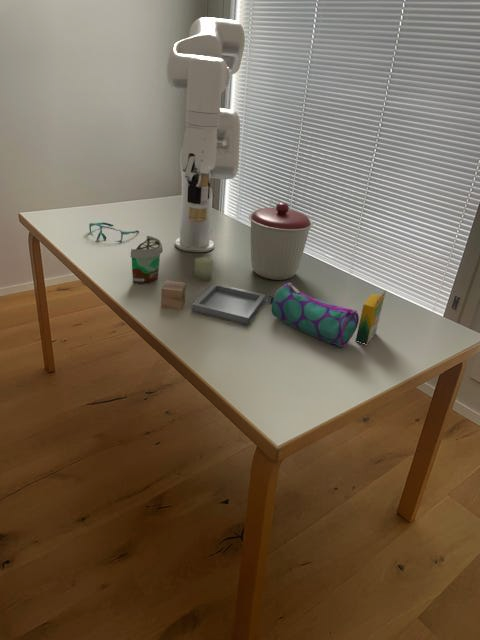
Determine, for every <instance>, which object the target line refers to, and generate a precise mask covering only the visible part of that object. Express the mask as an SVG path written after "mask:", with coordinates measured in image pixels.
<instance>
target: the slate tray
mask: <svg viewBox="0 0 480 640" xmlns="http://www.w3.org/2000/svg"><path fill="white" fill-rule="evenodd" d="M266 297H267V294H264V293H259V292H257V291H256V292H255V291H251V290H247V289H242V288H238V287H233V286H229V285H225V284H222V283H221V284H220V283H216V282H214V283H212V285H210V286H209V287H208V288H207V289H206V291H204V292H203V293H202V294H201V295H200V296H199V297H198V298H197V299H196V300H195V301H194V302H193V303H192V304H191V312H192V313H196V314H201V315H205V316H207V317H211V318H217V319H221V320H224V321H228V322H231V323H232V322H233V323H235V324H236V323H237V324H241V325H244V326H249V325H250V323H251V322H252V320H253V319H254V318H255V317H256V315H257V314H258V312H259V311H260V309H261V308H262V307H263V305H264V304H265V302H266Z"/></svg>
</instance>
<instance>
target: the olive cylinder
mask: <svg viewBox="0 0 480 640" xmlns="http://www.w3.org/2000/svg"><path fill="white" fill-rule="evenodd" d="M213 263H214V260H213V259H212V258H209V257H203V256H200V257H196V258H194V268H193V269H194V270H193V278H194V279H195V280H198V281H202V282H205V281H206V282H207V281H210V280H212V279H213V269H214V268H213V267H214V265H213Z"/></svg>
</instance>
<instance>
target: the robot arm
mask: <svg viewBox="0 0 480 640" xmlns="http://www.w3.org/2000/svg"><path fill="white" fill-rule="evenodd" d="M245 34H246V33H245V30H244V27H243V25H242V23H240V22H239V21H237V20H235V19H234V20H233V19H227V18H217V17H207V16H205V17H199V18H197V19H196V20H195V21H194V22H193V23H192V24H191V26H190V28H189V35H188V36H189V37H187V38H183V39H181V40H179V41H177V42H175V43H174V44H173V45H172V46H171V48H170V50H169V52H168V57H167V58H168V59H167V63H166V78H167V82H168V84H169V86H170V87H171V88H172V89H174V90H177V91H185V92H186V107H185V108H186V109H185V129H184V135H183V142H182V148H181V150H180V154H179V164H180V172H181V197H180V198H181V202H180V229H179V237H177V239H175V241H174V246H175V247H176V248H177V249H178V250H181V251H184V252H187V253H188V252H189V253H206V252H210V251H211V250H213V249H214V248H215V243H214V241H213V240H211V234H212V232H213V230H212V228H211V223H212V209H213V207H212V206H213V189H212V188H211V181H212V180H211V179H217V180H232V179H234V178H235V177H236V176H237V175H238V171H239V163H240V141H241V140H240V139H241V138H240V137H241V121H240V117H239V114H238V112H237V111H235V110H233V109H228V108H222V107H221V104H222V102H221V101H222V93H223V92H225V90H226V88H227V87H228V86H229V84H230V78H231V77H230V76H231V75H235V74H236V73H238V71H239V70H240V67H241V64H242V58H243V55H244V50H245V42H246V36H245ZM218 143H220V144H222V145H220V144H219V145H218ZM208 166H210V172H209V178H208V201H207V212H206V218H207V219H206V220H205V221H203V222H195V221H191V220H190V219H189V218H188V217H189V203H194V204H200V203H201V187H200V182H201V175H202V173H205V172H206V171H207V168H208ZM193 170H197V171H196V172H197V173H195V172H193ZM193 175H196V176H197V180H196V177H194V176H193Z"/></svg>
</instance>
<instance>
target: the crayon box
mask: <svg viewBox="0 0 480 640" xmlns="http://www.w3.org/2000/svg"><path fill="white" fill-rule="evenodd" d="M386 291H387V289H385V291H384V292H382V294H381V295H379V294H376V293H372V294H371V295H370V297H369V298H367V300H366V301H365V302H364V304H363V306H362V310H361V314H360V317H359V322H358V326H357V333H356V337H355V342H356V341H359V342H361V343H360V344H362V343H365V344H367V345H369V343H370V341H371V340H372V339H373V338H374V336H375V335H374V334H376V333H377V329H378V325H379V320H380V316H381V312H382V310H383V309H382V307H383V303H384V300H385V296H386ZM371 338H372V339H371ZM359 342H358V343H359ZM368 342H369V343H368ZM365 344H364V345H365Z"/></svg>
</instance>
